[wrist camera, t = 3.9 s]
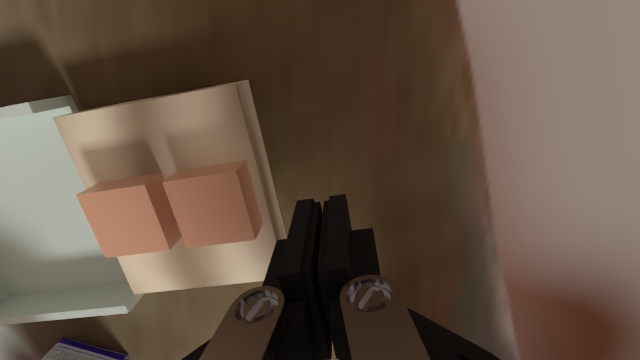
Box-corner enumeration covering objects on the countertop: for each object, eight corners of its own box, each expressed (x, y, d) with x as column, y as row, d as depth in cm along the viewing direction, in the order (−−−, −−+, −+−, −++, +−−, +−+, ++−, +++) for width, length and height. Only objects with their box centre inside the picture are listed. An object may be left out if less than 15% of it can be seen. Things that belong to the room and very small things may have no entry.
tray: (71, 94, 20) (27, 102, 18) (152, 283, 25) (128, 312, 22) (-93, 126, 22) (-157, 137, 19) (14, 298, 27) (-25, 327, 24)
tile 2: (162, 172, 19) (144, 184, 17) (184, 233, 20) (169, 250, 19) (98, 182, 20) (75, 195, 18) (124, 241, 21) (105, 257, 19)
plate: (248, 79, 19) (235, 83, 17) (291, 256, 23) (285, 278, 21) (84, 109, 21) (52, 117, 18) (152, 272, 25) (133, 294, 23)
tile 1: (245, 160, 18) (236, 171, 17) (263, 223, 20) (255, 240, 18) (178, 170, 19) (162, 182, 17) (199, 231, 20) (186, 248, 19)
